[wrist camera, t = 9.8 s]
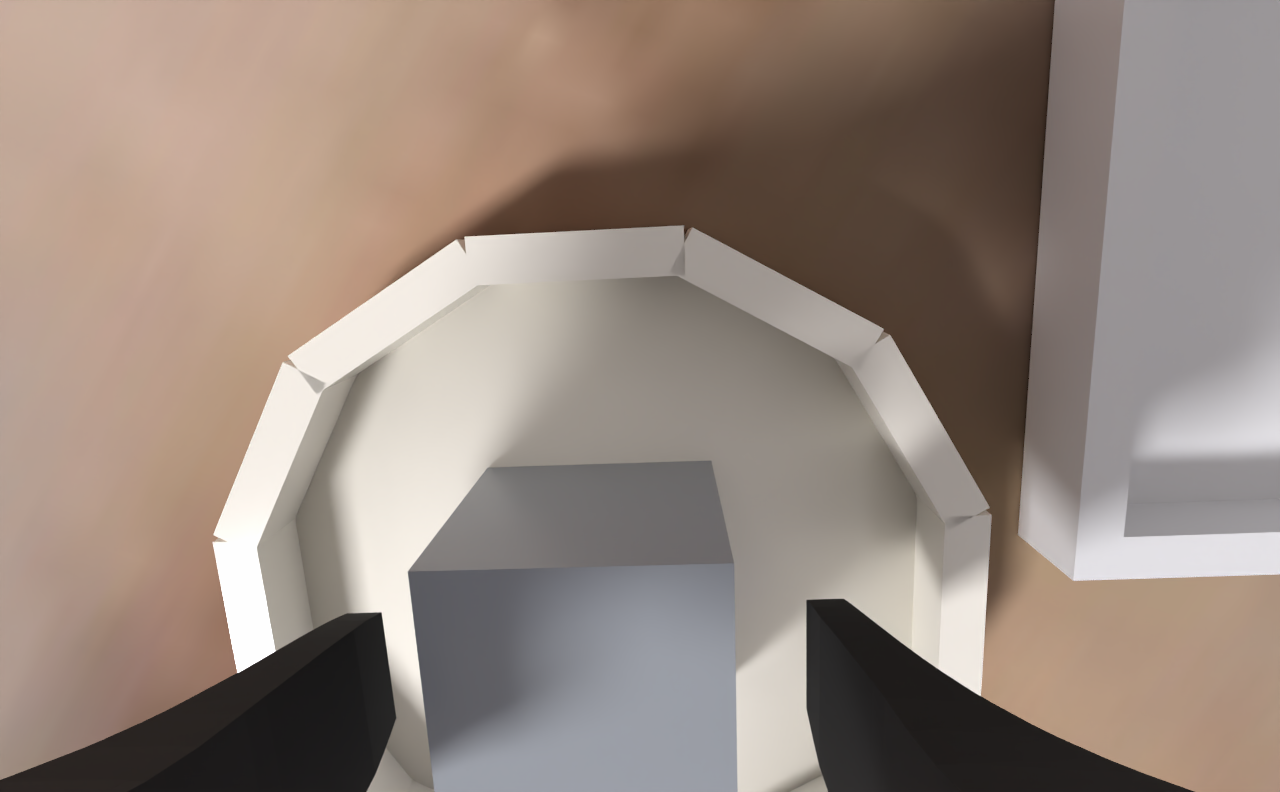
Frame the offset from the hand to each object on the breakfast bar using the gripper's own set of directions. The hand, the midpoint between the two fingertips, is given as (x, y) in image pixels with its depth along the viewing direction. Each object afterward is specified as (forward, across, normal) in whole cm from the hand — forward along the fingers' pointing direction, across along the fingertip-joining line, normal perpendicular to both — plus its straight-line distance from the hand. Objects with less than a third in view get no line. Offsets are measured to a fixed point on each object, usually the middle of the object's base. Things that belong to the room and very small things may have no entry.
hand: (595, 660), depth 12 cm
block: (+3, 0, 0) cm, 3 cm away
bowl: (+3, 0, 0) cm, 3 cm away
